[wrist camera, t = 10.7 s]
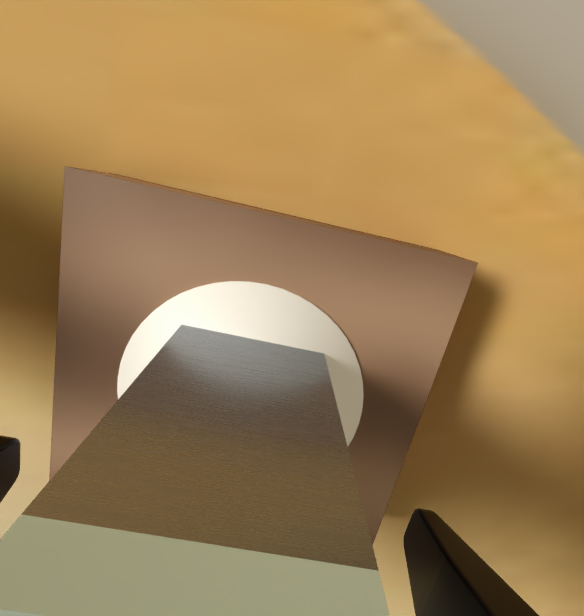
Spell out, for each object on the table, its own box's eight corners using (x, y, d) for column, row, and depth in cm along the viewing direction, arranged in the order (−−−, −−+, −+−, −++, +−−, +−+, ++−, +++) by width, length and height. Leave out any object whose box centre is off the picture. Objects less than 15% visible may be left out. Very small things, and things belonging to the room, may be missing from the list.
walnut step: (356, 502, 17) (371, 566, 14) (90, 455, 16) (45, 514, 13) (442, 250, 14) (486, 264, 11) (114, 174, 13) (62, 165, 10)
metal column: (292, 469, 13) (302, 883, 5) (163, 447, 12) (-39, 852, 5) (324, 353, 11) (401, 665, 4) (181, 324, 11) (-53, 602, 3)
